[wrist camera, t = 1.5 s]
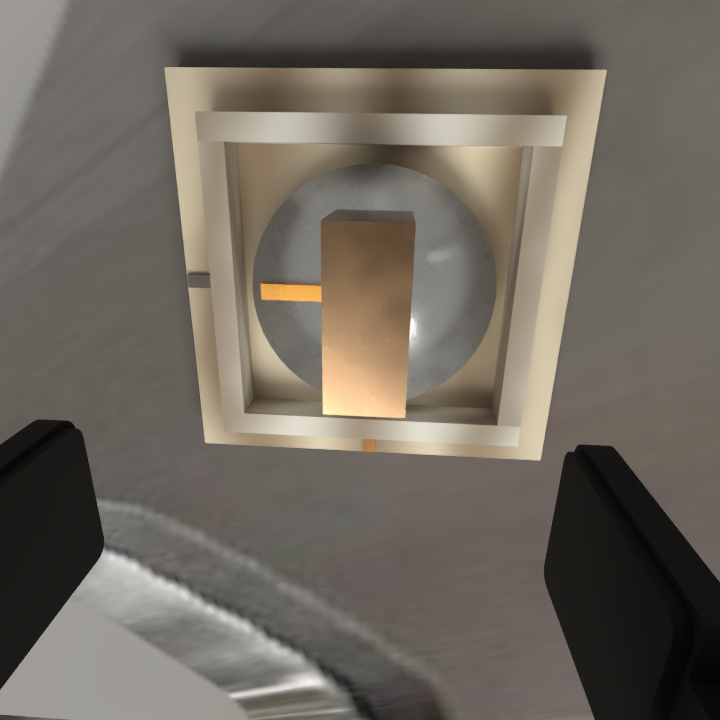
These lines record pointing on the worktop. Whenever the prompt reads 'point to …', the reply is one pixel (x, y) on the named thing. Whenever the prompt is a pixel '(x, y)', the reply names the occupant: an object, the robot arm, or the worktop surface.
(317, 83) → the dial board
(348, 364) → the dial
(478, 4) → the worktop surface
